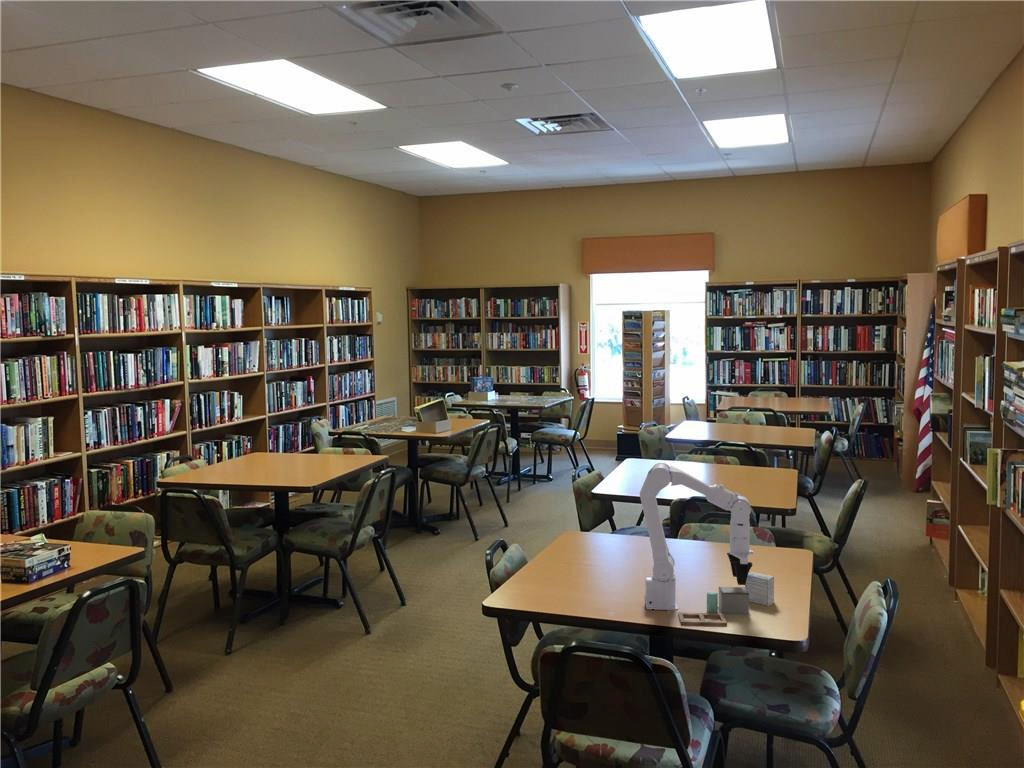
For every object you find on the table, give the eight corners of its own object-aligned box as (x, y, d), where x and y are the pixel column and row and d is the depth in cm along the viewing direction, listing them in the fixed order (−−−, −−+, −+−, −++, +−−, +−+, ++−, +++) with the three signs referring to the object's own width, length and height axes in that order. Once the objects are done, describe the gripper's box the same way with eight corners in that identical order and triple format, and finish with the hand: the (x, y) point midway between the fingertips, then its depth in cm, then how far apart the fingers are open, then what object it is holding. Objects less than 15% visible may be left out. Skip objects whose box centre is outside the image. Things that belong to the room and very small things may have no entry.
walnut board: (681, 625, 231) (681, 621, 231) (678, 616, 239) (678, 612, 239) (726, 626, 230) (726, 622, 230) (722, 617, 238) (722, 613, 238)
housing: (721, 613, 240) (721, 592, 239) (718, 607, 245) (718, 586, 244) (748, 614, 239) (748, 593, 238) (745, 608, 244) (745, 587, 244)
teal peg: (707, 614, 240) (707, 594, 240) (705, 610, 243) (706, 591, 243) (718, 614, 240) (718, 595, 239) (716, 610, 243) (716, 591, 243)
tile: (720, 615, 239) (720, 604, 239) (716, 607, 246) (716, 597, 246) (751, 616, 238) (751, 605, 238) (746, 608, 245) (746, 597, 245)
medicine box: (774, 603, 249) (774, 576, 248) (768, 607, 246) (768, 579, 245) (750, 597, 254) (750, 571, 254) (744, 601, 251) (744, 574, 250)
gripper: (758, 543, 234) (757, 588, 235) (748, 530, 248) (747, 573, 249) (733, 542, 234) (733, 588, 235) (725, 530, 249) (724, 572, 250)
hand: (739, 580), depth 242 cm, fingers open, 7 cm apart
